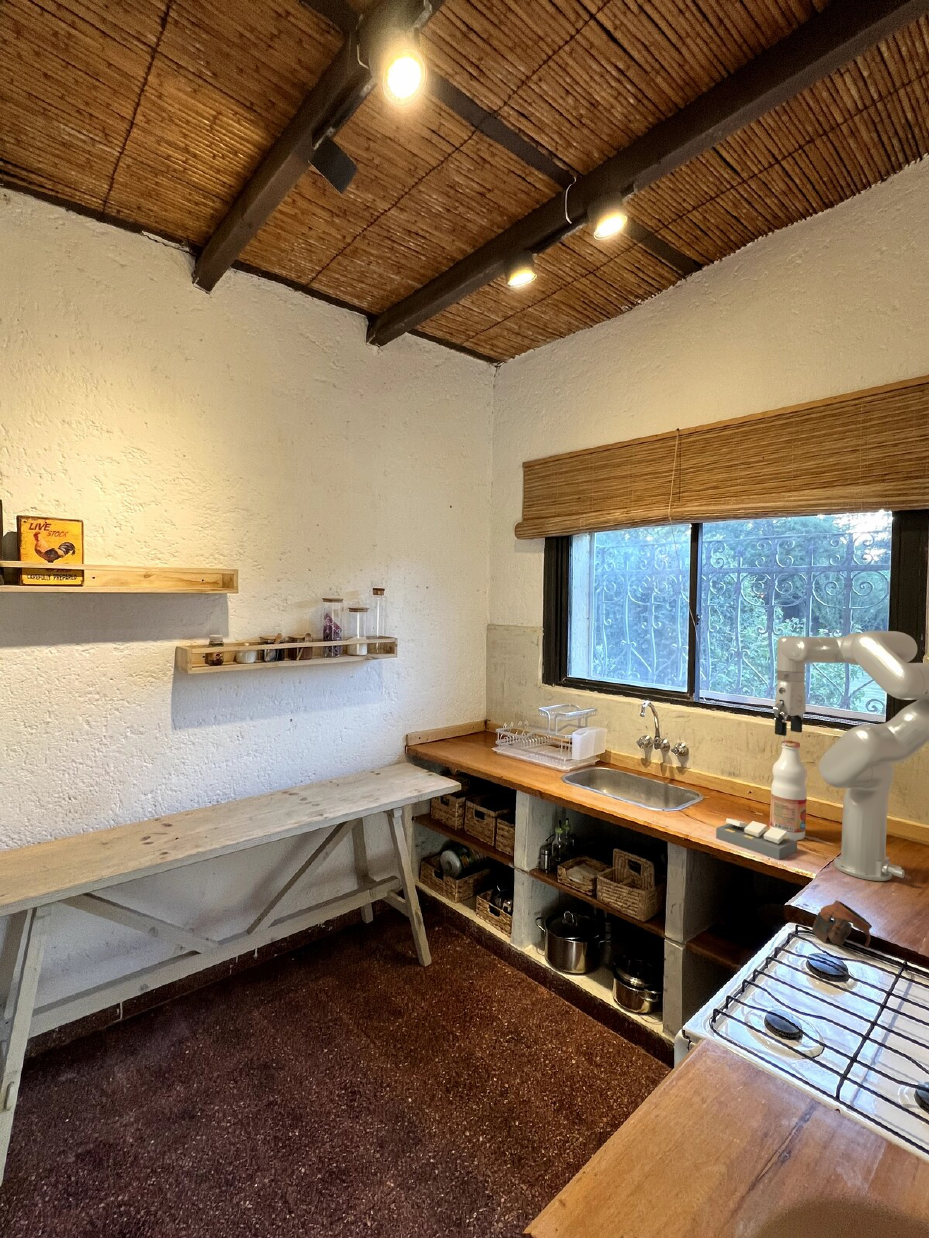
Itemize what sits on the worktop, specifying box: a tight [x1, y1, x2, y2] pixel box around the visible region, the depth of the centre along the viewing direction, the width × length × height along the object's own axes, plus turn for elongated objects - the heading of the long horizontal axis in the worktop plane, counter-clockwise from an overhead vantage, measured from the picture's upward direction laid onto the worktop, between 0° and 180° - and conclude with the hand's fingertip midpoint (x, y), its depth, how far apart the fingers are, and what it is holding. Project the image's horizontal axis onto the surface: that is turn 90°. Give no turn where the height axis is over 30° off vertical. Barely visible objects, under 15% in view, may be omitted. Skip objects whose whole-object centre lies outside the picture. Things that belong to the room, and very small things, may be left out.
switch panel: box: [715, 823, 798, 861], centre depth 170 cm, size 18×10×3 cm, turn 37°
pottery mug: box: [811, 899, 873, 948], centre depth 120 cm, size 12×10×8 cm
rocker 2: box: [744, 820, 768, 837], centre depth 170 cm, size 4×5×2 cm
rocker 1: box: [725, 817, 749, 828], centre depth 174 cm, size 4×5×2 cm
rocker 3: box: [764, 827, 787, 844], centre depth 165 cm, size 4×5×2 cm
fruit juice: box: [769, 739, 808, 841], centre depth 178 cm, size 9×9×28 cm
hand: (788, 733), depth 180 cm, fingers open, 9 cm apart
